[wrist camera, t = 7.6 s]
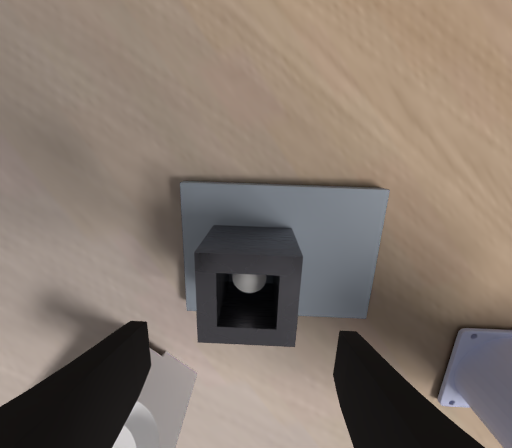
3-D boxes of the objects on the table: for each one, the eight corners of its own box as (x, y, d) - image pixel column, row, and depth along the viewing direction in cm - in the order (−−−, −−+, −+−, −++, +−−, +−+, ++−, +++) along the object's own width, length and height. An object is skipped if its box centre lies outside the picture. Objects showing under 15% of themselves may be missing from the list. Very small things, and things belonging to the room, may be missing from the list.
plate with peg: (382, 187, 17) (423, 199, 13) (361, 310, 20) (388, 354, 15) (184, 180, 17) (158, 189, 13) (190, 303, 20) (170, 344, 16)
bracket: (134, 325, 21) (68, 415, 14) (198, 369, 22) (167, 473, 15) (62, 406, 24) (-25, 516, 17) (122, 442, 25) (65, 558, 18)
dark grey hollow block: (291, 227, 17) (303, 256, 12) (286, 296, 18) (294, 346, 14) (213, 224, 17) (194, 252, 12) (214, 293, 19) (197, 342, 14)
